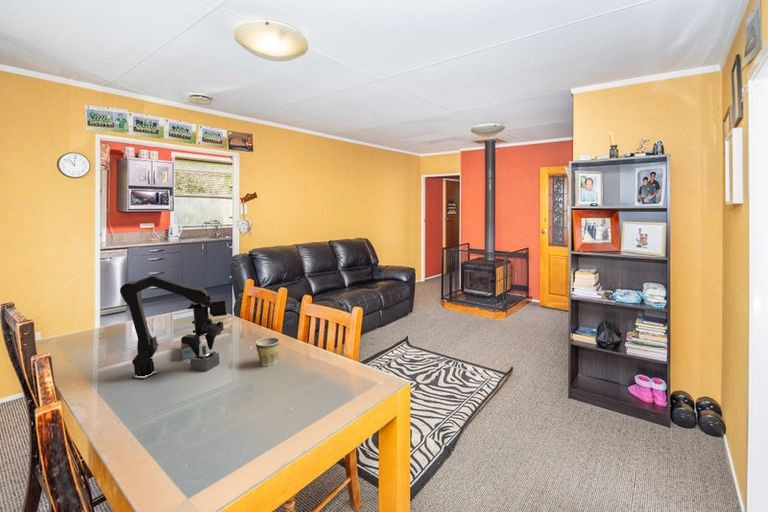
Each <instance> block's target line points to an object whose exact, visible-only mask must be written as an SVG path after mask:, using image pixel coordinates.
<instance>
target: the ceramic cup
mask: <svg viewBox="0 0 768 512" xmlns="http://www.w3.org/2000/svg"><path fill="white" fill-rule="evenodd" d="M255 348H256V351H257V353H258V358H259V362H260V364H261V366H262V367H271V366H275V364H276V363H278V357H279V356H278V355H279V349H280V339H279V338H277V337H266V338H265V337H263V338H261V339H258V340H256V341H255Z"/></svg>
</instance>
